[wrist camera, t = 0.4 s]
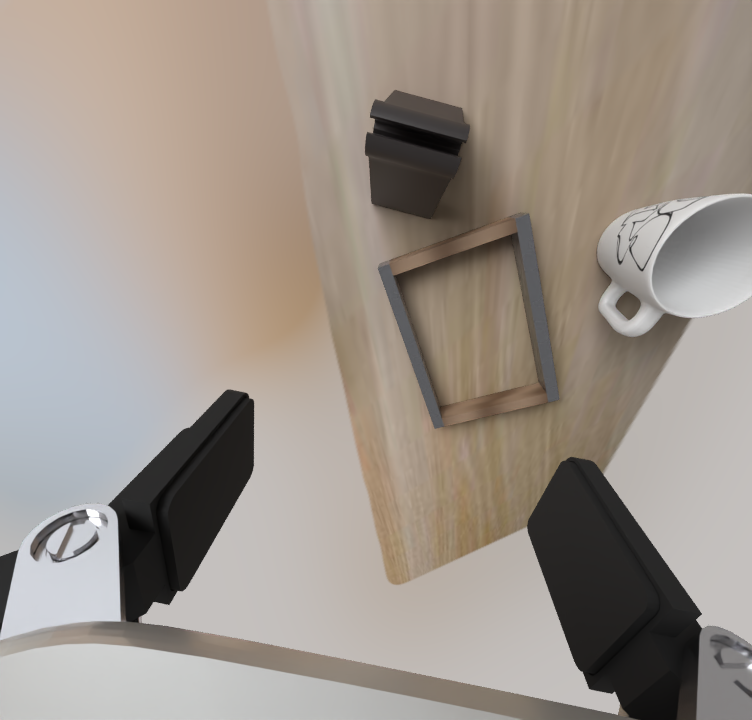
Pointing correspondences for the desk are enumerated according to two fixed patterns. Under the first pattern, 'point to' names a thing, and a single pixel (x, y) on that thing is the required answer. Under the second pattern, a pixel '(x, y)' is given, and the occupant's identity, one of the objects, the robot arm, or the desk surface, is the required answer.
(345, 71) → the desk surface
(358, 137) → the desk surface
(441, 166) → the phone stand
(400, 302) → the wooden frame
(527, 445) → the desk surface
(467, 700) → the robot arm
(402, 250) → the desk surface
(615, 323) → the mug
